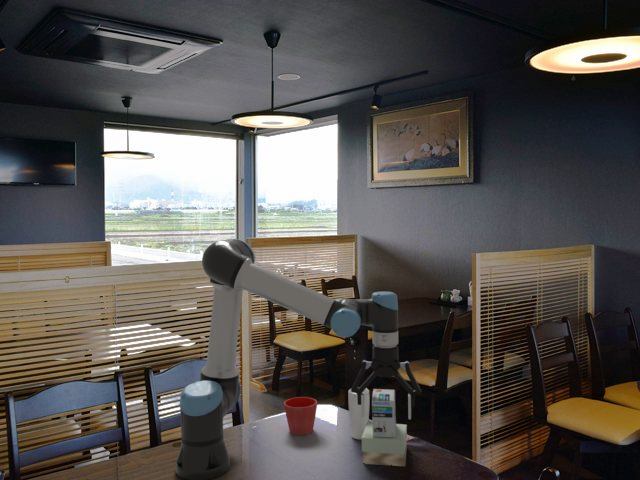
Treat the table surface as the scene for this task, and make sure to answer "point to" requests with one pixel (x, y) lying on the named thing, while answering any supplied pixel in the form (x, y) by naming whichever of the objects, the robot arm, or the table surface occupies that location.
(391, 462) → the birch slab
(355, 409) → the drinking glass
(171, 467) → the table surface
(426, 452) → the table surface
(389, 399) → the light bulb box
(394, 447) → the sage slab
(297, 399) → the flower pot
